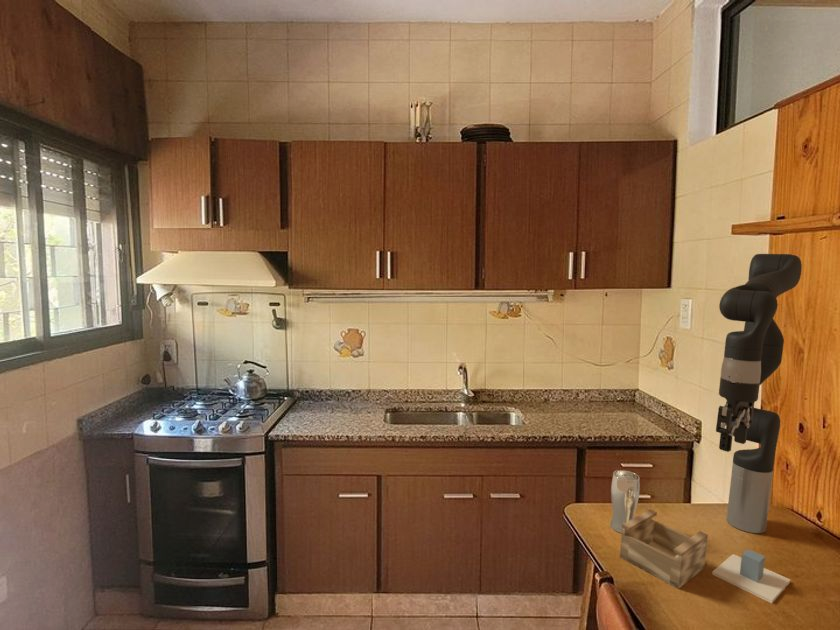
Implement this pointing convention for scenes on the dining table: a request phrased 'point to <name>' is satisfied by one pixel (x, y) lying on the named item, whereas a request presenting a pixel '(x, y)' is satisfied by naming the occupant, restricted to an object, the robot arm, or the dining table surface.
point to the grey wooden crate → (662, 549)
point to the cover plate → (748, 585)
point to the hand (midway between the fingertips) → (732, 446)
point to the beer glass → (624, 497)
